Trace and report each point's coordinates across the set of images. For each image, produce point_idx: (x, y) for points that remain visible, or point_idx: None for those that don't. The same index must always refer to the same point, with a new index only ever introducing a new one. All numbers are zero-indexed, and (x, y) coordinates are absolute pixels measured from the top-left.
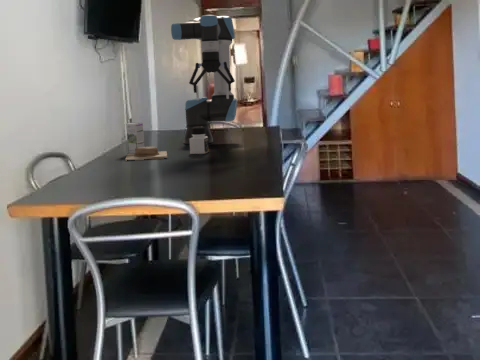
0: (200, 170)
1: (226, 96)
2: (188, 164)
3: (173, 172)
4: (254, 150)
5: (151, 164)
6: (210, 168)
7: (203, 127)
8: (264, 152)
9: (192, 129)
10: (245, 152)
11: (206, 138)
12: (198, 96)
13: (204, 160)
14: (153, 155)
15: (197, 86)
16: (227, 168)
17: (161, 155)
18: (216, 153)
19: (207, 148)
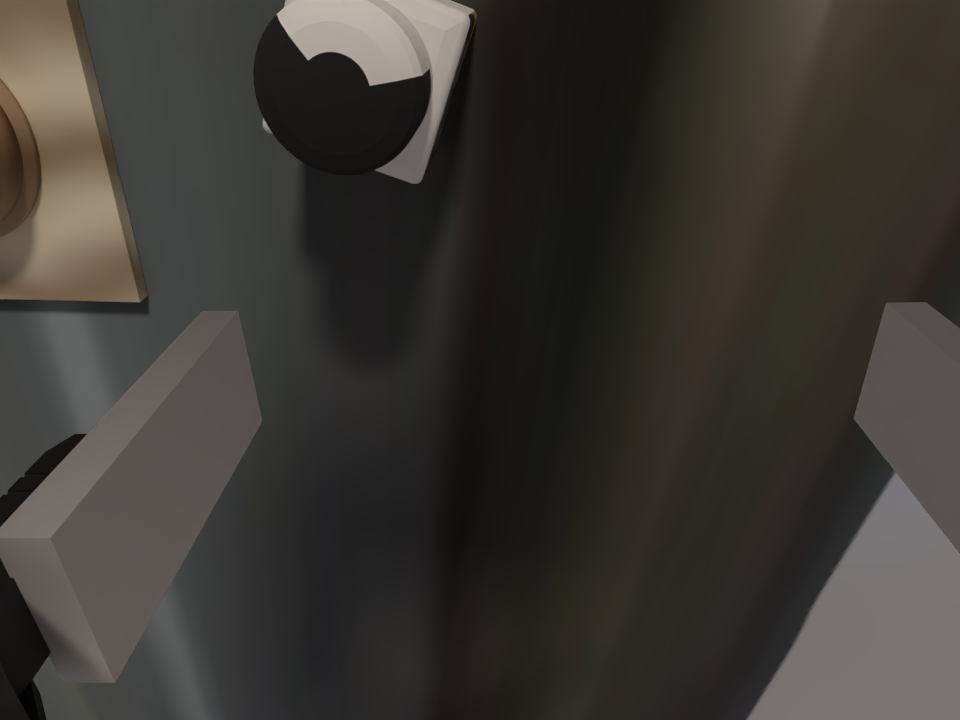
0: (386, 704)
1: (907, 332)
2: (321, 555)
3: (267, 705)
4: (883, 130)
5: None
6: (433, 681)
7: (404, 123)
8: (897, 288)
9: (268, 124)
10: (766, 222)
11: (447, 99)
12: (230, 468)
13: (414, 465)
14: (14, 228)
15: (106, 659)
16: (509, 703)
17: (81, 238)
18: (530, 175)
19: (460, 67)
